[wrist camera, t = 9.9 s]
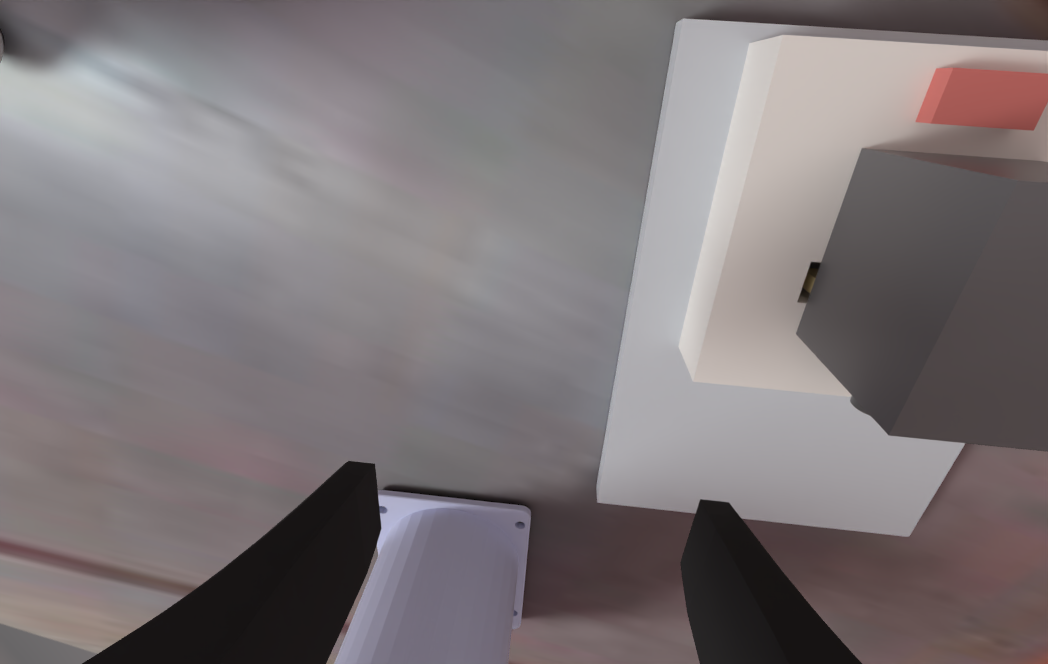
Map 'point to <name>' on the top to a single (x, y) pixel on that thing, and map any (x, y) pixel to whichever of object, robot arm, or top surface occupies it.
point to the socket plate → (831, 178)
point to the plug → (939, 297)
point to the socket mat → (725, 410)
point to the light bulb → (1, 45)
